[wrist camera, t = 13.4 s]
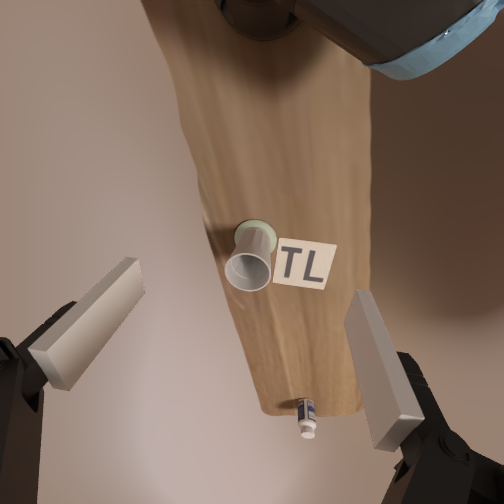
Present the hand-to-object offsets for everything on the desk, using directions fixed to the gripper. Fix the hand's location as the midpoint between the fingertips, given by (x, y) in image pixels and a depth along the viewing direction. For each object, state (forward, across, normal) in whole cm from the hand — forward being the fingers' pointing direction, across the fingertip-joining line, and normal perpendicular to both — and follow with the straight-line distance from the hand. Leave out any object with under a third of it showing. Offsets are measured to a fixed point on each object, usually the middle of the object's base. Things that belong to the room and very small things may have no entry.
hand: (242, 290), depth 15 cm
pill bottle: (+34, +20, -74) cm, 84 cm away
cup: (+34, -2, -15) cm, 37 cm away
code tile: (+34, +9, -20) cm, 41 cm away
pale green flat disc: (+34, -2, -15) cm, 38 cm away
